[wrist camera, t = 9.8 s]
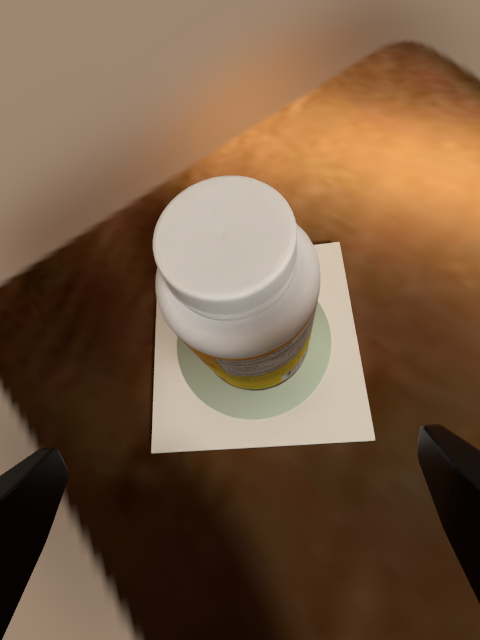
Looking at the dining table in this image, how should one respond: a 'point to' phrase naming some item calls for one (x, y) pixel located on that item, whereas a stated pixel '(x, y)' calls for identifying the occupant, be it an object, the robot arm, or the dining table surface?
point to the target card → (273, 404)
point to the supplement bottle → (237, 280)
